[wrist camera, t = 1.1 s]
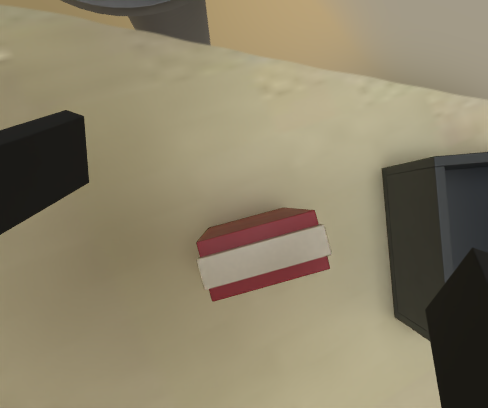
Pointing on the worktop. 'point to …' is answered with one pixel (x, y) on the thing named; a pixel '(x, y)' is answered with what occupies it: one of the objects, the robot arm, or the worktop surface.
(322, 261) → the block
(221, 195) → the worktop surface
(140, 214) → the worktop surface
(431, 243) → the bin
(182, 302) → the worktop surface
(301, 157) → the worktop surface
